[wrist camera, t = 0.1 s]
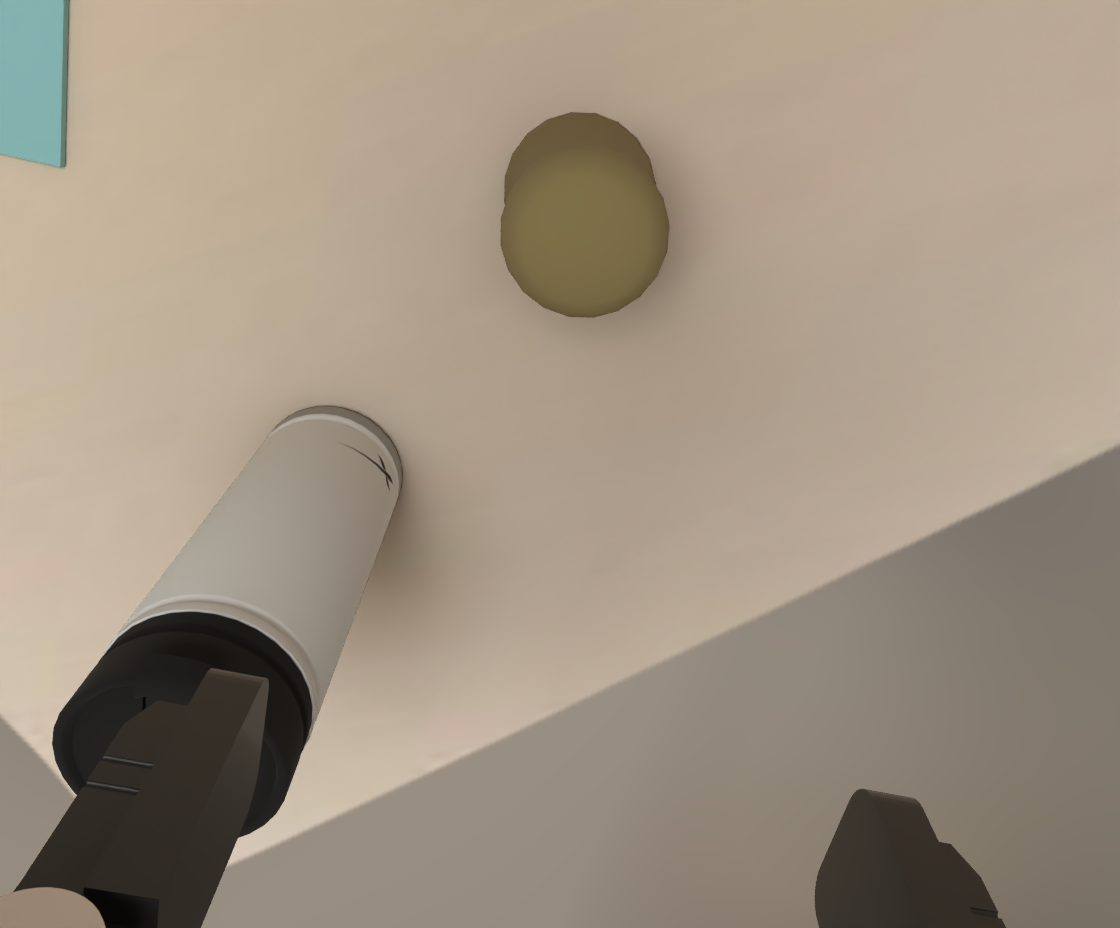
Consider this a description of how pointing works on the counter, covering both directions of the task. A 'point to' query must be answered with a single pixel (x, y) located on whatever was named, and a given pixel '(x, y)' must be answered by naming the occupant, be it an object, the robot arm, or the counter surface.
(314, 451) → the travel mug
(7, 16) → the teal mat
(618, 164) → the cork
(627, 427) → the counter surface
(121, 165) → the counter surface
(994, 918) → the robot arm
